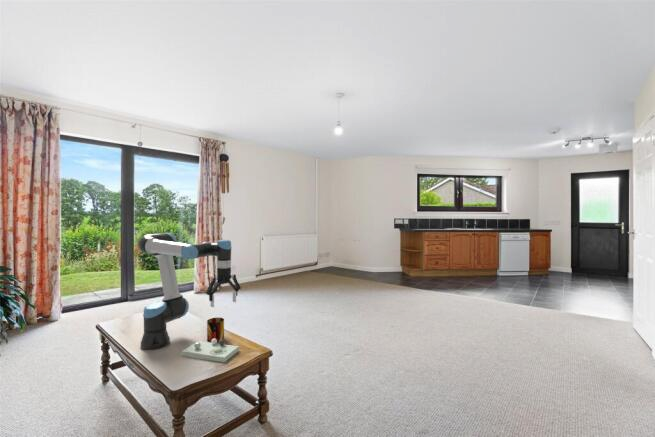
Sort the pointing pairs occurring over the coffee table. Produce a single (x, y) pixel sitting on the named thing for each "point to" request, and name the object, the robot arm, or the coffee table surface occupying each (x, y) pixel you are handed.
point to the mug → (215, 329)
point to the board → (211, 351)
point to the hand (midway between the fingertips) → (223, 304)
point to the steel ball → (197, 345)
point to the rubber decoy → (222, 342)
